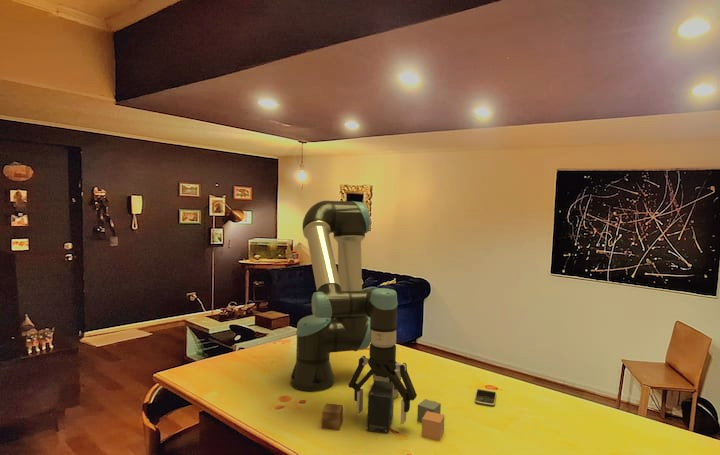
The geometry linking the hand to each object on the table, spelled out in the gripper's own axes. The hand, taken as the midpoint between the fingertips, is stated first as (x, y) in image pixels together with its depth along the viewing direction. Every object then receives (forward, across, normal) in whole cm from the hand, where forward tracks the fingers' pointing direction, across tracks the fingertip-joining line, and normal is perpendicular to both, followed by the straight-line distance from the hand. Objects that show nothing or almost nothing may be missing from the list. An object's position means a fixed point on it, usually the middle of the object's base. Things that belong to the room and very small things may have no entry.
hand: (381, 417), depth 123 cm
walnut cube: (+2, -12, -7) cm, 14 cm away
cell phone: (+3, +25, +31) cm, 40 cm away
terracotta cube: (+2, +15, +1) cm, 15 cm away
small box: (+2, 0, 0) cm, 2 cm away
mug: (+2, -7, +20) cm, 21 cm away
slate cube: (+2, +12, +8) cm, 15 cm away
